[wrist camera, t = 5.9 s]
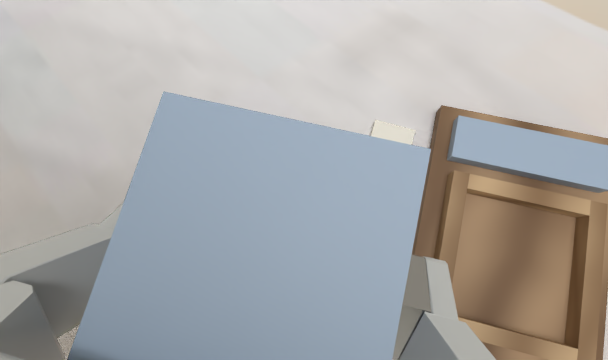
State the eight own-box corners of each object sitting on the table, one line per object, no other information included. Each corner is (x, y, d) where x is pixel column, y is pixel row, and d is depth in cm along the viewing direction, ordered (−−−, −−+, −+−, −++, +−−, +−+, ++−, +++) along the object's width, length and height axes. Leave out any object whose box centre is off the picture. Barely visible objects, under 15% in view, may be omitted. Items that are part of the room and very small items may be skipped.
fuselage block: (218, 314, 13) (49, 409, 5) (255, 185, 14) (163, 91, 6) (338, 349, 12) (362, 514, 4) (367, 212, 13) (431, 149, 5)
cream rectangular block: (359, 173, 26) (361, 169, 25) (373, 125, 27) (375, 119, 26) (398, 184, 26) (402, 181, 24) (411, 136, 26) (415, 130, 25)
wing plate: (446, 160, 24) (451, 156, 23) (453, 120, 25) (458, 115, 24) (598, 193, 23) (610, 190, 22) (601, 151, 24) (613, 146, 23)
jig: (396, 330, 23) (404, 338, 21) (436, 112, 26) (447, 97, 24) (585, 382, 22) (617, 397, 19) (604, 146, 25) (633, 134, 23)
